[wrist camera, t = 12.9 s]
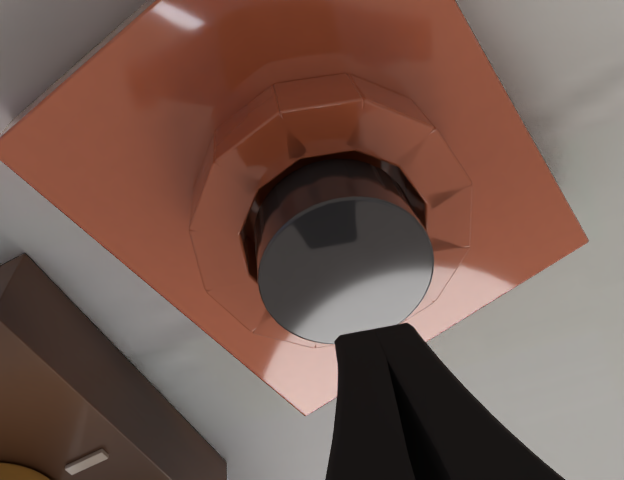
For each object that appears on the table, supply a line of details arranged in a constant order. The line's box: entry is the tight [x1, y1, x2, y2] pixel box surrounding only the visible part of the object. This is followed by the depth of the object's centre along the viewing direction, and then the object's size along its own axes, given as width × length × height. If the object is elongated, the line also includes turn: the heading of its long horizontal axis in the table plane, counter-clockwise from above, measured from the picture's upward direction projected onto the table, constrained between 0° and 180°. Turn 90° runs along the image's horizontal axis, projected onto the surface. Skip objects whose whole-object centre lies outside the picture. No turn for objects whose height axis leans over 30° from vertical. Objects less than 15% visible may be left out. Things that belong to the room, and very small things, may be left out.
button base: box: [0, 0, 589, 416], centre depth 16 cm, size 13×11×4 cm
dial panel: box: [0, 254, 227, 480], centre depth 21 cm, size 12×10×3 cm
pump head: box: [254, 159, 434, 344], centre depth 14 cm, size 4×4×2 cm
